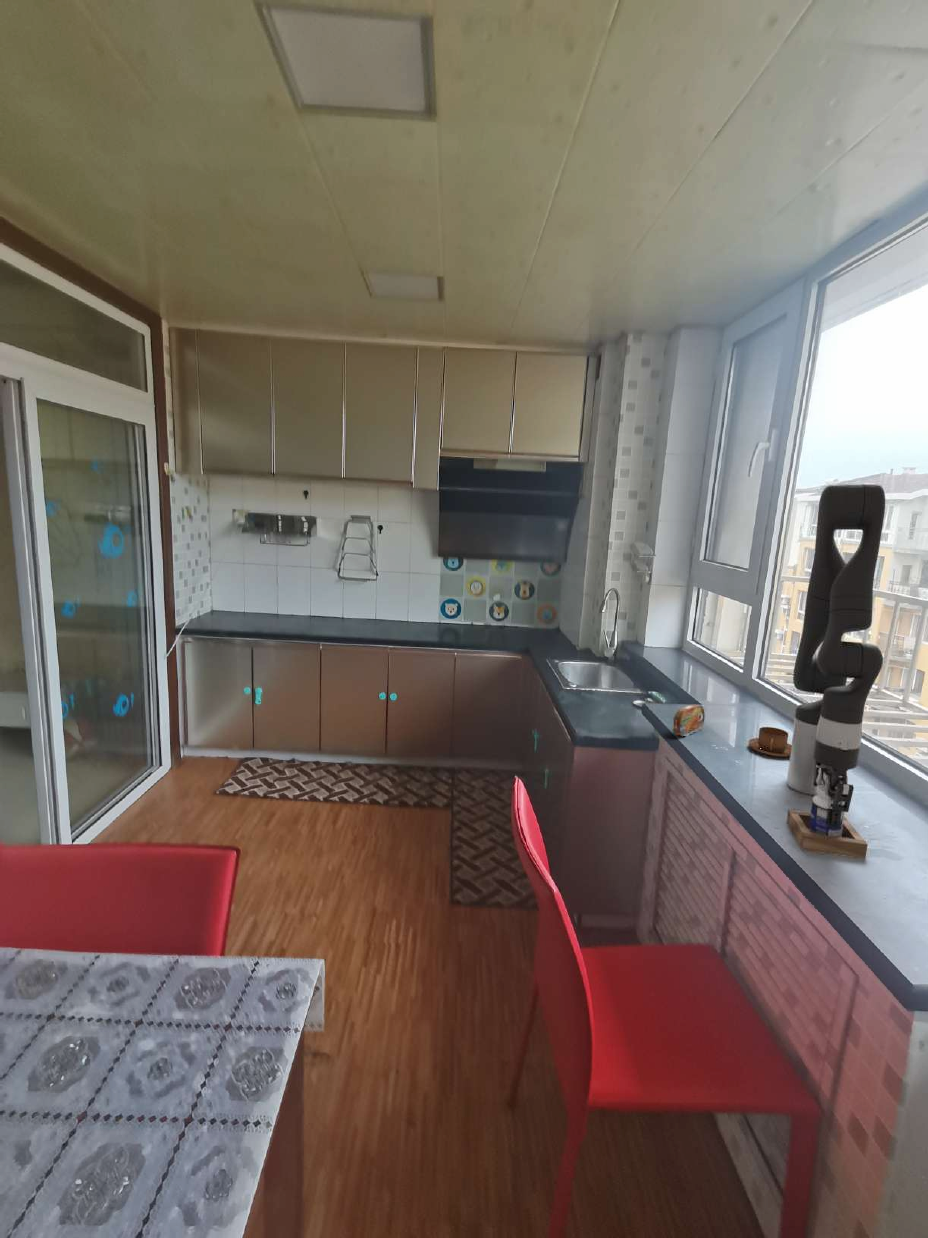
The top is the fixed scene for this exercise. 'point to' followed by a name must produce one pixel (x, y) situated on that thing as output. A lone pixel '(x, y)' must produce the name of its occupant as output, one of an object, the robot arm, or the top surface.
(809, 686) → the robot arm
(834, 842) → the socket block
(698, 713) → the tin
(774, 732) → the cup and saucer
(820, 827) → the pill bottle
